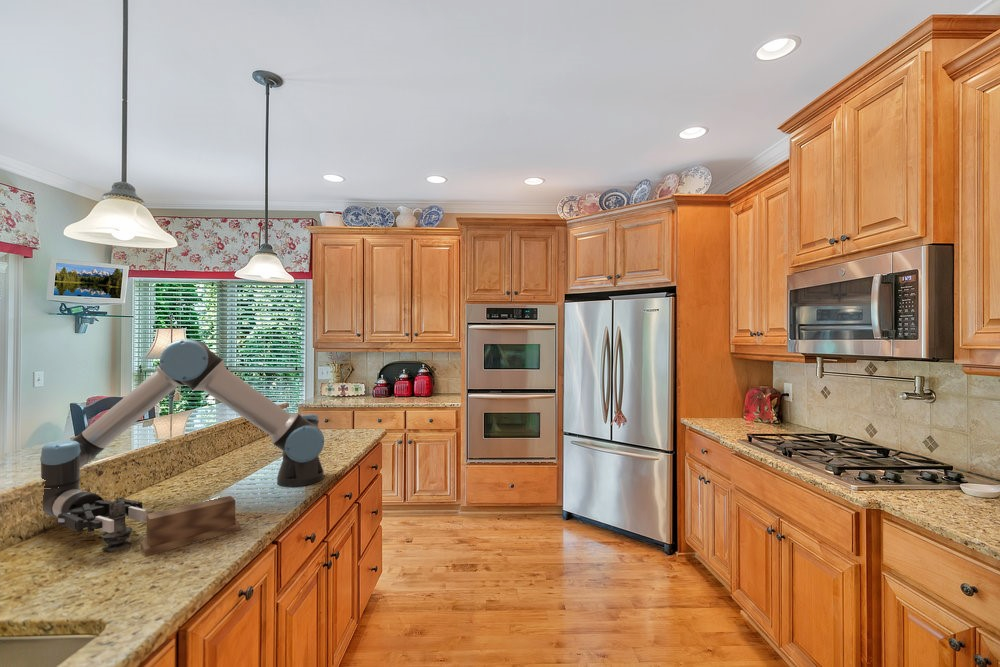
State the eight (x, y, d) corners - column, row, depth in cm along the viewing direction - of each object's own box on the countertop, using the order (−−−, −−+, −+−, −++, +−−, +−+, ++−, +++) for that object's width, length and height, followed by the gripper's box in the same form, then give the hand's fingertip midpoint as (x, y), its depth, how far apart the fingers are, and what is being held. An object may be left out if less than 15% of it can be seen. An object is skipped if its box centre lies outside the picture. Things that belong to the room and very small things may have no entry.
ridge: (233, 523, 125) (233, 494, 125) (240, 530, 120) (240, 499, 120) (141, 547, 111) (141, 514, 111) (144, 556, 106) (144, 521, 106)
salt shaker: (138, 543, 113) (138, 494, 113) (111, 554, 108) (111, 502, 108) (122, 540, 115) (122, 492, 115) (95, 550, 109) (95, 500, 110)
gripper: (122, 508, 128) (172, 522, 118) (29, 535, 110) (78, 554, 101) (122, 481, 128) (172, 493, 118) (29, 504, 110) (78, 519, 101)
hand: (128, 521), depth 109 cm, fingers open, 6 cm apart
